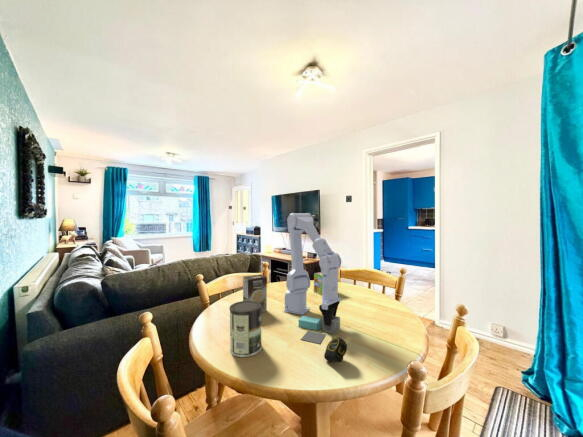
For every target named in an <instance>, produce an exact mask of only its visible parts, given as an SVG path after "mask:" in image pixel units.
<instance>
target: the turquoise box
mask: <svg viewBox="0 0 583 437" xmlns="http://www.w3.org/2000/svg"><path fill="white" fill-rule="evenodd" d="M298 328H304V329H307V330H308V329H309V330H312V331H313V330H314V331H317V332H318V331H319V330H320V329H321V328H322V318H317V317H314V316H313V317H312V316H306V315H302V316H301V317H300V318H299V319H298Z"/></svg>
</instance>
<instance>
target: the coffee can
mask: <svg viewBox="0 0 583 437" xmlns="http://www.w3.org/2000/svg"><path fill="white" fill-rule="evenodd" d="M228 308H229V324H230V325H229V329H230V330H229V331H230V332H229V336H230V338H229V339H230V342H229V344H230V345H229V346H230V347H229V348H230V349H229V351H230V353H231V355H232V356H234V357H237V358H249V357H252V356H255V355H257V354H258V353H260V352H261V351H262V345H263V344H262V312H261V303H259V302H256V301H243V300H241V301H236V302H234V303H232V304H230V306H229V307H228Z"/></svg>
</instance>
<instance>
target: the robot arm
mask: <svg viewBox="0 0 583 437" xmlns="http://www.w3.org/2000/svg"><path fill="white" fill-rule="evenodd" d="M286 219H287V221H286V222H287V231H288V233H289V242H290V243H289V244H290V246H289V247H290V255H291V256H290V257H291V258H290V259H291V260H290V261H291V270H290V271H288V273H287V274H286V283H285V284H286V288H287V290H286V291H285V293H284V310H283V312H285V313H290V314H295V315H296V314H297V315H302V316H305V314H306V313H307V312H308V311H309V310H310V307H307V292H308V291H309V288H310V287H311V279H310V276H309V271H307V270H305V268H304V256H303V243H302V242H303V241H302V234H303V232H305V233H306V235H307V236H308V238H309V239H310V240H311V241H312V249H313V250H314V252H315V254H316V256H317V257H318V259H319V261H318V264H319V267H320V272H321V273H322V296H321V302H322V303H321V304H320V305H319V306H318V309H319V311H320V313H321V315H322V318H323V320H324V324H325V325H326V326H331V322H332V315H333V316H337V312H338V307H339V305H340V303H341V302H342V298H341V297H339V290H338V289H339V275H338V274H339V268H341V266H342V259H341V256H340V254H339V253H337V252H335V251H333V250H332V249H331V247H330V245H329V244H328V242H327V241H326V239H325V238H322V237H320V235H319V232H318V231H317V228H316V227H315V225H314V217H313V215H312V214H311V213H310V212H305V213H302V212H301V213H300V212H298V213H297V212H296V213H295V212H291V213H289V215H288V217H287V218H286Z"/></svg>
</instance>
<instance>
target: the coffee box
mask: <svg viewBox="0 0 583 437" xmlns="http://www.w3.org/2000/svg"><path fill="white" fill-rule="evenodd" d="M242 279H243V282H242V286H243V287H242V297H243V298H242V301H256V302H259V303H261V313H264V312H267V305H268V304H267V303H268V300H267V298H268V297H267V296H268V295H267V294H268V293H267V290H268V287H267V285H268V283H267V282H268V280H267V279H268V277H267V276H266V275H263V274H254V275H253V274H252V275H245V276H242Z"/></svg>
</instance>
